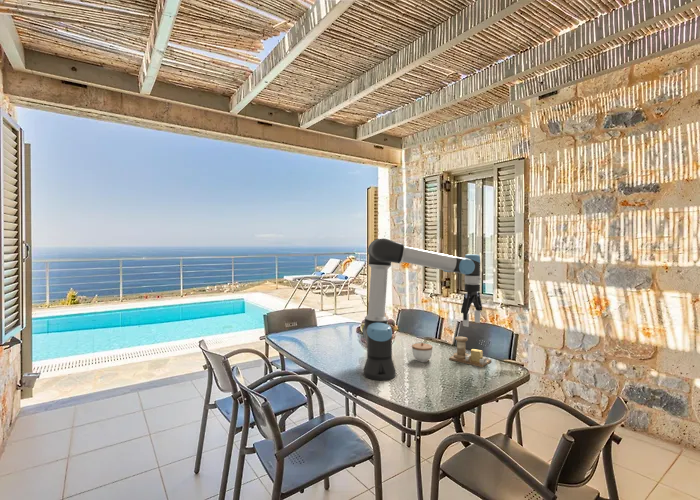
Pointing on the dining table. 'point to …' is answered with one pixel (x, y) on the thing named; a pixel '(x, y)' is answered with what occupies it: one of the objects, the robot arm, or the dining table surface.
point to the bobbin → (461, 347)
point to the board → (468, 360)
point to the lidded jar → (422, 352)
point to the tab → (476, 355)
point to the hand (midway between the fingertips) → (471, 324)
